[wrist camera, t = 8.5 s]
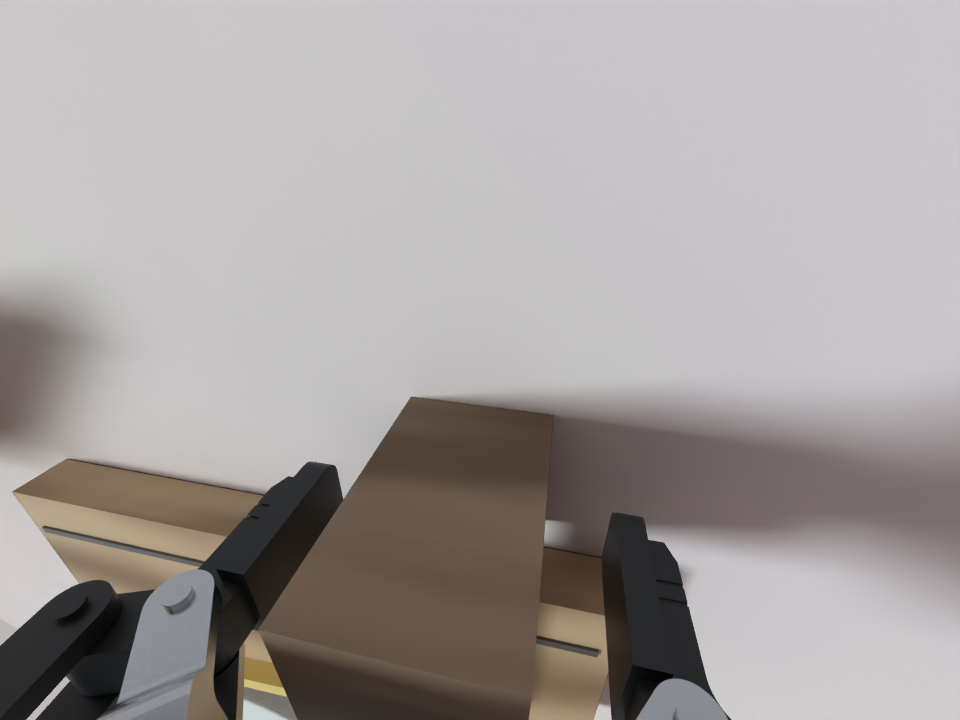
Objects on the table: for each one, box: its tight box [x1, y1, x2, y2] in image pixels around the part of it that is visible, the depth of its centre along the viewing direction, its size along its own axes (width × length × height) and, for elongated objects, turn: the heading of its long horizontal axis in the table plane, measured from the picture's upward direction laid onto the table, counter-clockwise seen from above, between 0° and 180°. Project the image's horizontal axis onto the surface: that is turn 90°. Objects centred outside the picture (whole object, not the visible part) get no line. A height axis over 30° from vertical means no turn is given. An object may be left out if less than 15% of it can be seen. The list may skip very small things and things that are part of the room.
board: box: [12, 459, 609, 720], centre depth 17 cm, size 10×24×2 cm, turn 89°
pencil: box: [244, 657, 287, 697], centre depth 18 cm, size 1×14×1 cm, turn 94°
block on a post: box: [258, 397, 553, 720], centre depth 12 cm, size 12×4×7 cm, turn 179°
